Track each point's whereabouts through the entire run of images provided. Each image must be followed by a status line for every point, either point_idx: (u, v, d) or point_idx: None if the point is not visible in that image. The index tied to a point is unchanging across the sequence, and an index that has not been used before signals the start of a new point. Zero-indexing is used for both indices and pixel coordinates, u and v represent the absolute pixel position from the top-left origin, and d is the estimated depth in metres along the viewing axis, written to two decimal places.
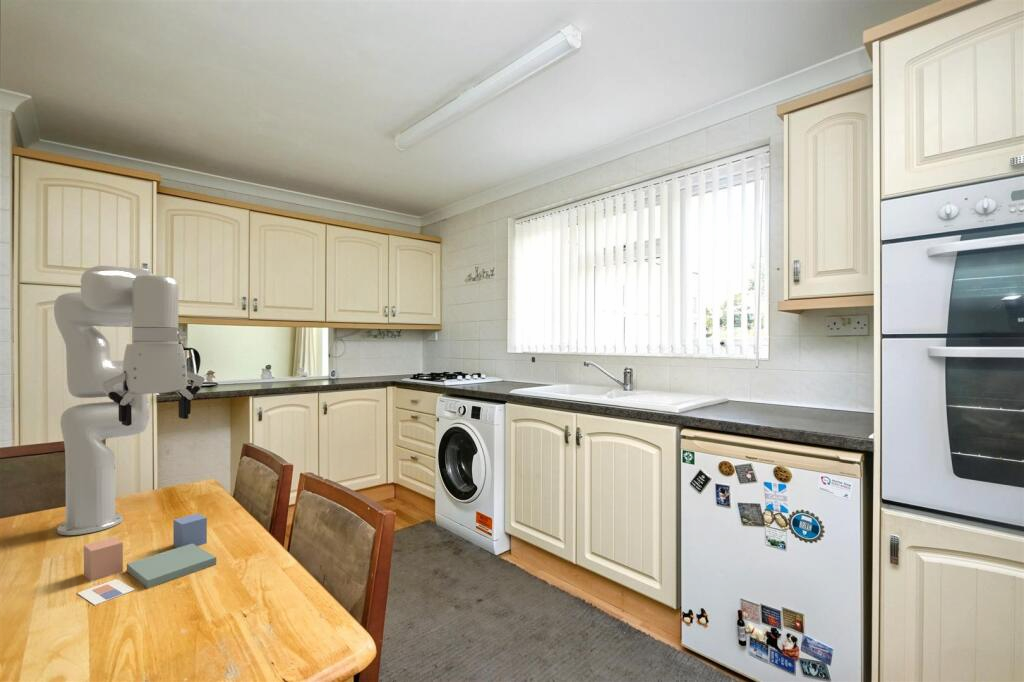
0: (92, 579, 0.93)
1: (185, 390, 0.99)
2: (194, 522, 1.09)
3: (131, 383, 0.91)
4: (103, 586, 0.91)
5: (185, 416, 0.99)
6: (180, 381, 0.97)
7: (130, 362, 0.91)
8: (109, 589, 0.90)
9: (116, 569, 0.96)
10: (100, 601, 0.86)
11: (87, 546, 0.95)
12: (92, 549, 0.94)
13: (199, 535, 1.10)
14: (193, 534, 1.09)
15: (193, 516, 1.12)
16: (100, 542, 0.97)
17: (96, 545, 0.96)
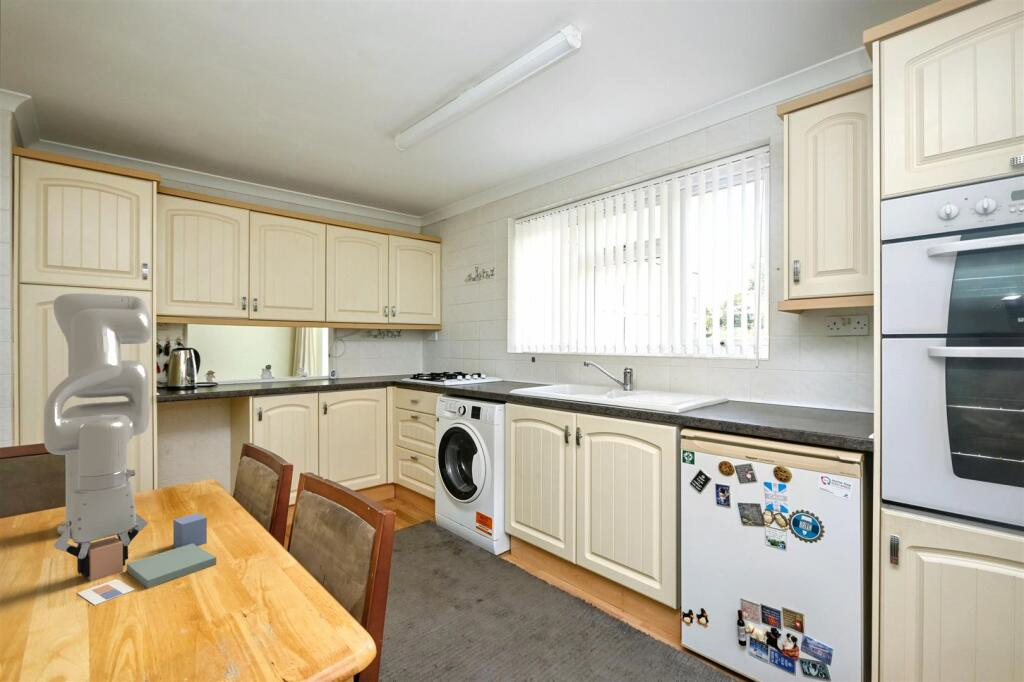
0: (92, 579, 0.93)
1: (125, 535, 0.99)
2: (194, 522, 1.09)
3: (75, 533, 0.92)
4: (103, 586, 0.91)
5: None
6: (128, 522, 0.98)
7: (75, 513, 0.92)
8: (109, 589, 0.90)
9: (116, 569, 0.96)
10: (100, 601, 0.86)
11: None
12: (92, 549, 0.94)
13: (199, 535, 1.10)
14: (193, 534, 1.09)
15: (193, 516, 1.12)
16: (100, 542, 0.97)
17: (96, 545, 0.96)
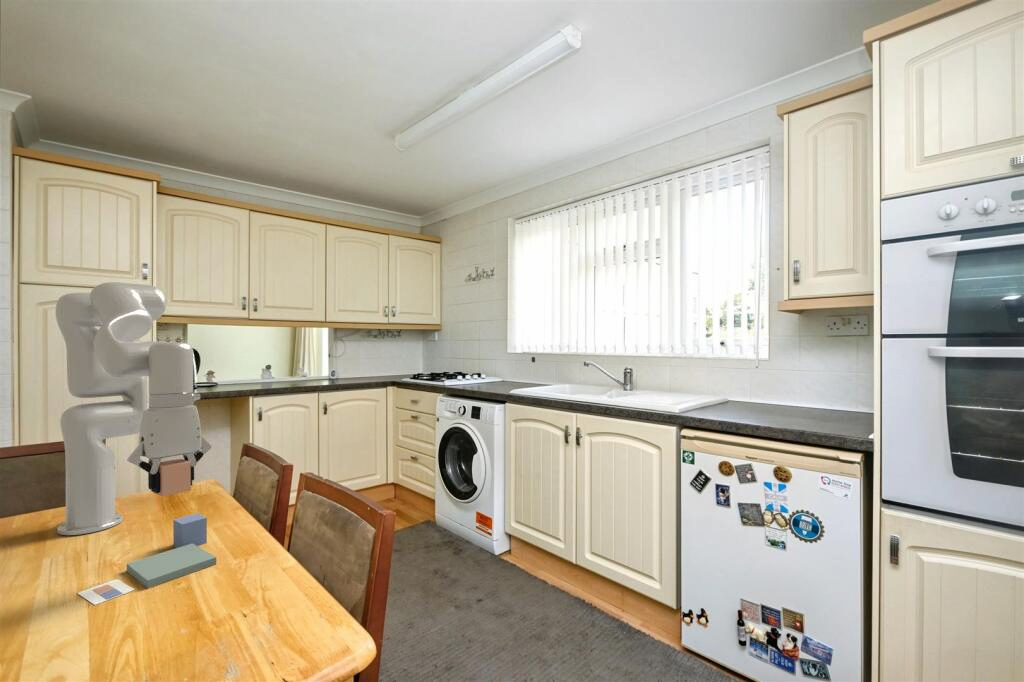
0: (163, 494, 0.95)
1: (192, 456, 1.01)
2: (194, 522, 1.09)
3: (148, 449, 0.94)
4: (103, 586, 0.91)
5: None
6: (195, 443, 1.00)
7: (147, 429, 0.94)
8: (109, 589, 0.90)
9: (185, 487, 0.98)
10: (100, 601, 0.86)
11: None
12: (163, 466, 0.96)
13: (199, 535, 1.10)
14: (193, 534, 1.09)
15: (193, 516, 1.12)
16: (168, 461, 0.99)
17: (166, 463, 0.98)
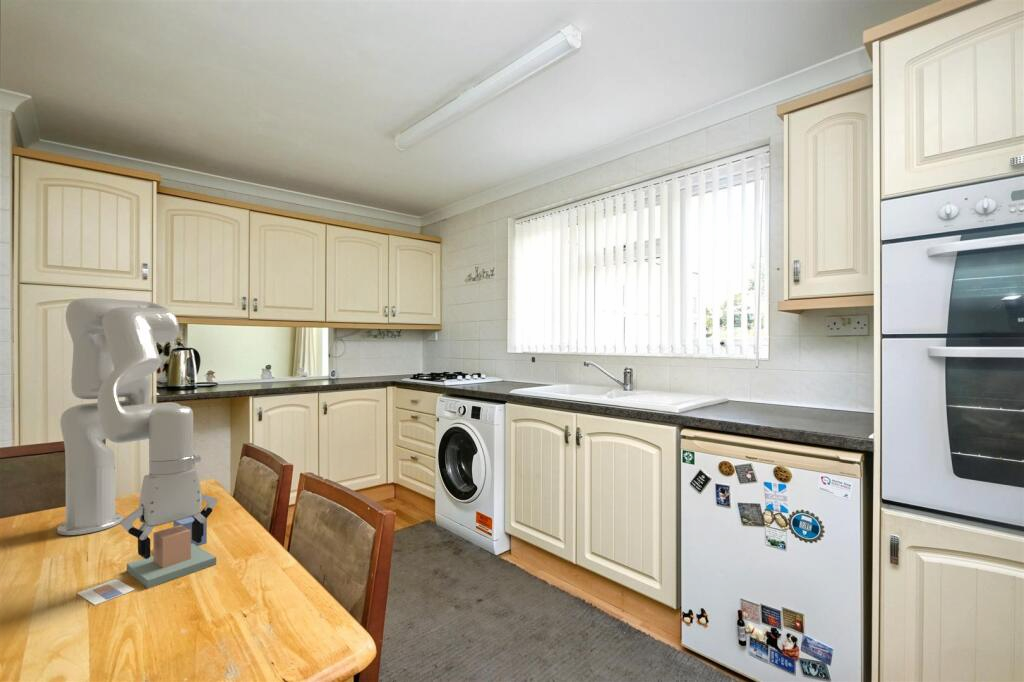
0: (164, 565, 0.95)
1: (199, 514, 1.02)
2: None
3: (148, 517, 0.94)
4: (103, 586, 0.91)
5: (198, 540, 1.01)
6: (195, 507, 1.00)
7: (148, 497, 0.94)
8: (109, 589, 0.90)
9: (185, 556, 0.99)
10: (100, 601, 0.86)
11: (157, 533, 0.98)
12: (163, 536, 0.96)
13: None
14: None
15: None
16: (168, 530, 0.99)
17: (166, 533, 0.98)
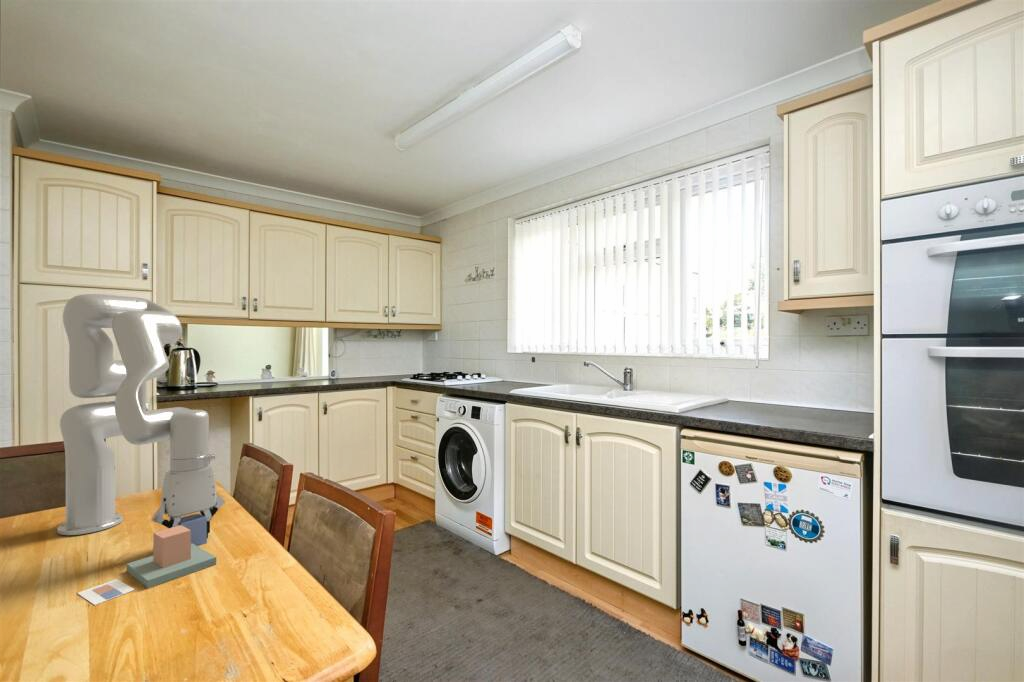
0: (164, 565, 0.95)
1: (208, 512, 1.12)
2: (194, 522, 1.09)
3: (170, 509, 1.05)
4: (103, 586, 0.91)
5: None
6: (210, 500, 1.12)
7: (169, 491, 1.05)
8: (109, 589, 0.90)
9: (185, 556, 0.99)
10: (100, 601, 0.86)
11: (157, 533, 0.98)
12: (163, 536, 0.96)
13: (199, 534, 1.10)
14: (193, 534, 1.09)
15: (193, 516, 1.12)
16: (168, 530, 0.99)
17: (166, 533, 0.98)
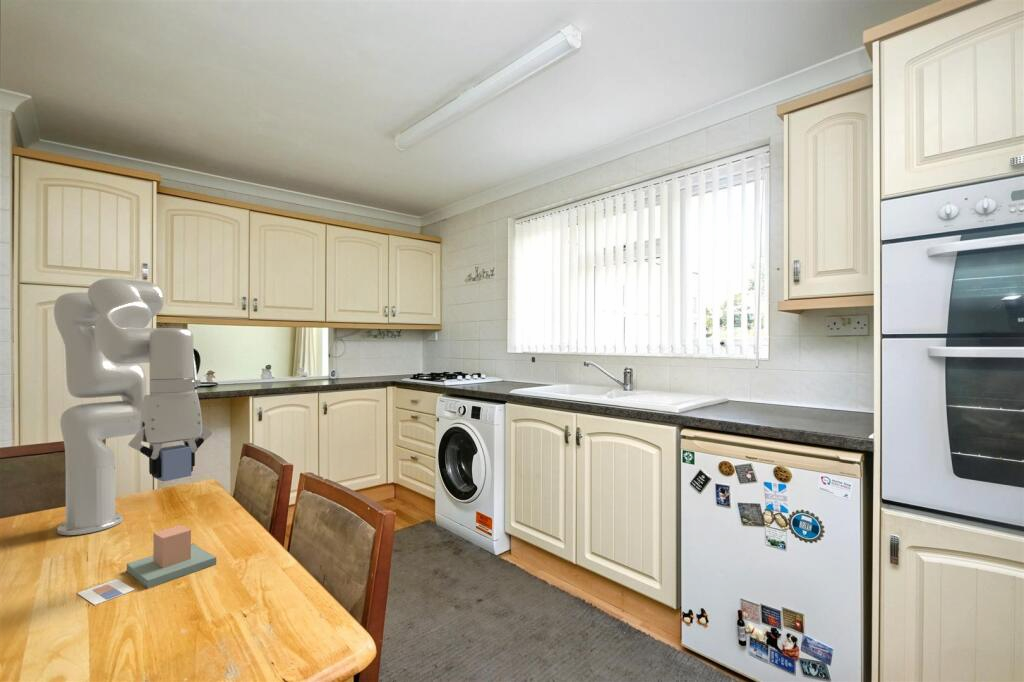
0: (164, 565, 0.95)
1: (193, 442, 1.01)
2: (177, 451, 0.98)
3: (149, 434, 0.94)
4: (103, 586, 0.91)
5: None
6: (195, 429, 1.01)
7: (148, 414, 0.94)
8: (109, 589, 0.90)
9: (185, 556, 0.99)
10: (100, 601, 0.86)
11: (157, 533, 0.98)
12: (163, 536, 0.96)
13: (183, 465, 0.98)
14: (176, 464, 0.97)
15: (176, 446, 1.01)
16: (168, 530, 0.99)
17: (166, 533, 0.98)
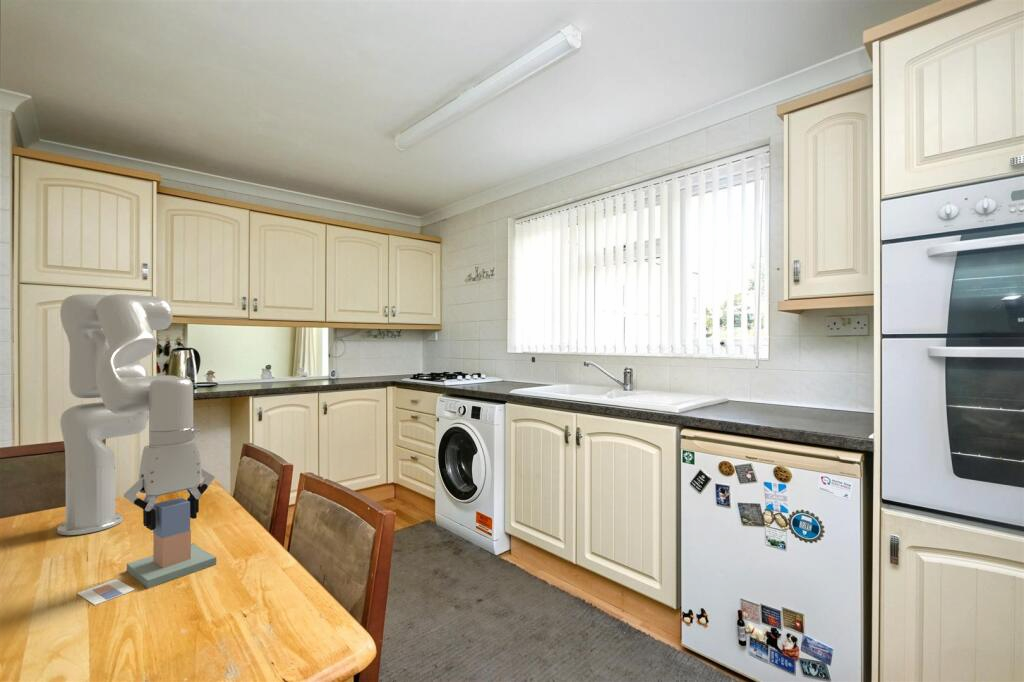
0: (164, 565, 0.95)
1: (195, 489, 1.01)
2: (176, 506, 0.97)
3: (148, 486, 0.94)
4: (103, 586, 0.91)
5: (193, 516, 1.01)
6: (195, 479, 1.00)
7: (147, 467, 0.94)
8: (109, 589, 0.90)
9: (185, 556, 0.99)
10: (100, 601, 0.86)
11: None
12: None
13: (181, 521, 0.98)
14: (174, 520, 0.97)
15: (175, 500, 1.00)
16: None
17: None
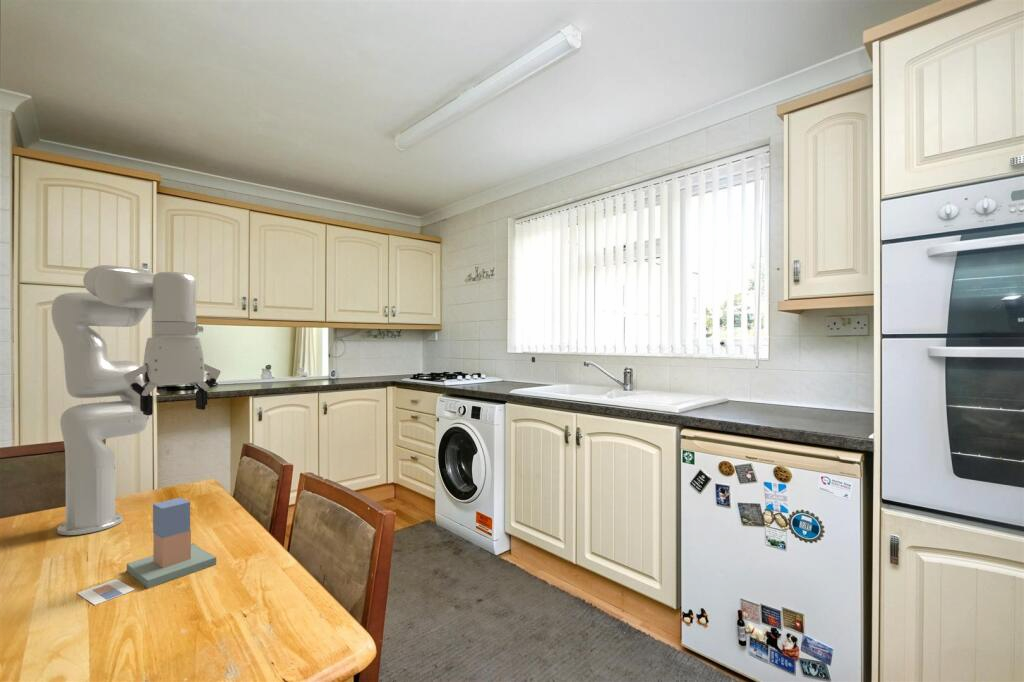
0: (164, 565, 0.95)
1: (202, 382, 1.03)
2: (176, 506, 0.97)
3: (152, 374, 0.95)
4: (103, 586, 0.91)
5: (202, 407, 1.03)
6: (198, 374, 1.02)
7: (151, 355, 0.95)
8: (109, 589, 0.90)
9: (185, 556, 0.99)
10: (100, 601, 0.86)
11: None
12: None
13: (181, 521, 0.98)
14: (174, 520, 0.97)
15: (175, 500, 1.00)
16: None
17: None
